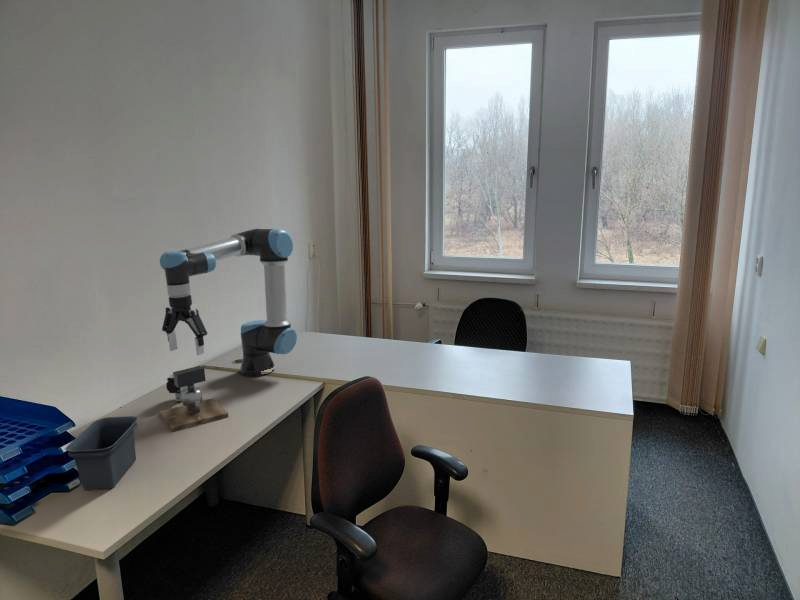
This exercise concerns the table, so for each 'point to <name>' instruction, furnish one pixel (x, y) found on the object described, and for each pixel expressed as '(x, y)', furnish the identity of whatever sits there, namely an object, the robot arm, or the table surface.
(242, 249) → the robot arm
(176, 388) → the pneumatic valve
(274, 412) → the table surface
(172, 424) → the base
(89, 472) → the storage bin
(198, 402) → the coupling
